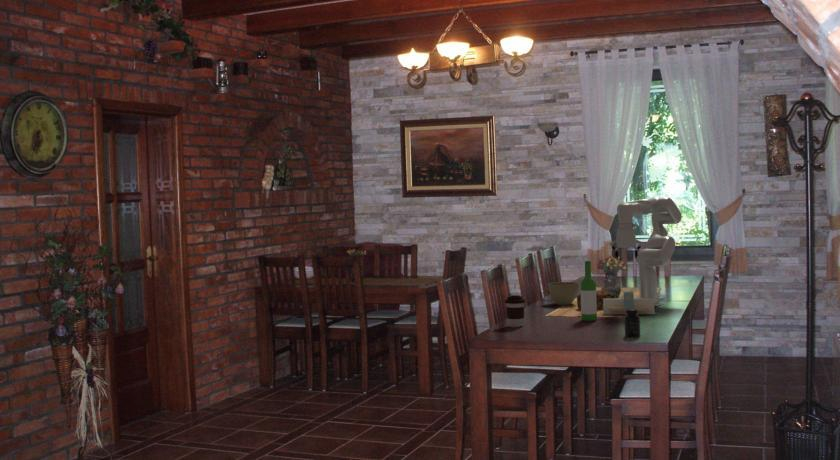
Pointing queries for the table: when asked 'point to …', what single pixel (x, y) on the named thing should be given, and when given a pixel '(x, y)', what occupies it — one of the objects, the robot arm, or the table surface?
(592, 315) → the wine bottle
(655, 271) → the robot arm
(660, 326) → the table surface
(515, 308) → the coffee cup
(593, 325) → the table surface
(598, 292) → the bread
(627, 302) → the cabinet block
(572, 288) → the flower pot
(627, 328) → the supplement bottle
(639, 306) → the wall shelf
